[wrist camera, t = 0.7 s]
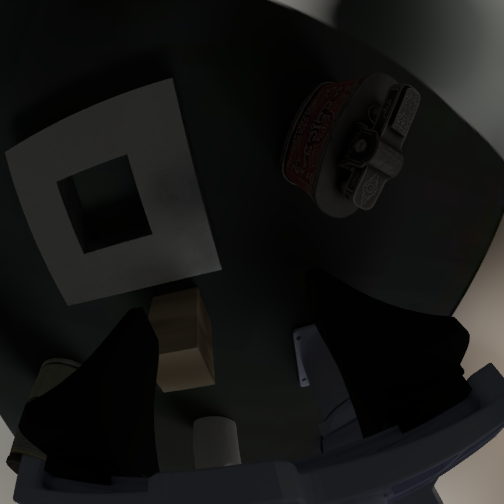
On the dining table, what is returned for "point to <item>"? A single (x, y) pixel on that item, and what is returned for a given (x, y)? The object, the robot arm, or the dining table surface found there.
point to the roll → (215, 442)
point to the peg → (182, 340)
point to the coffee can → (46, 380)
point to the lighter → (349, 141)
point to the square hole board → (148, 184)
